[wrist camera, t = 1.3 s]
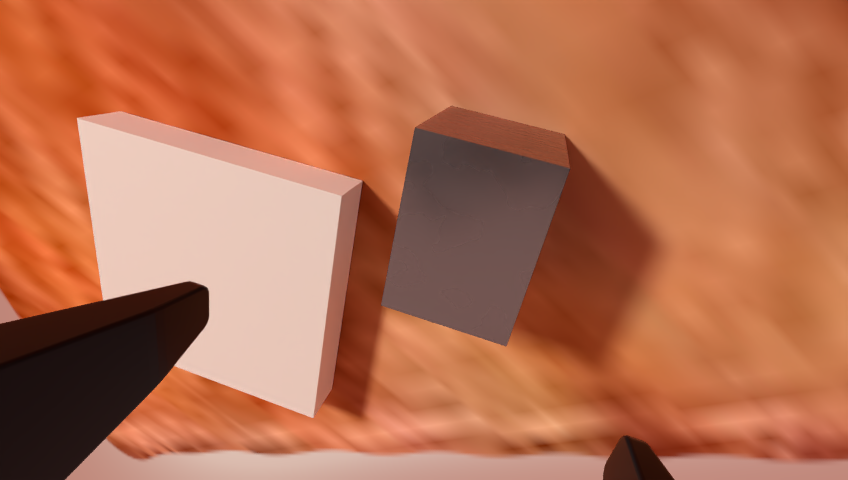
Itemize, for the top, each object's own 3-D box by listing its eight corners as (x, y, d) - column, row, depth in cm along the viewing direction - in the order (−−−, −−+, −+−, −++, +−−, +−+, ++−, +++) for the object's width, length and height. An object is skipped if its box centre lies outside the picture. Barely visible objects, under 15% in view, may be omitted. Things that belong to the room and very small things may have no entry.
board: (362, 180, 22) (341, 195, 20) (332, 388, 28) (313, 418, 26) (120, 111, 24) (76, 118, 22) (141, 319, 30) (109, 341, 28)
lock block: (564, 134, 19) (570, 168, 14) (517, 273, 22) (506, 346, 17) (451, 105, 20) (415, 127, 14) (420, 244, 23) (381, 305, 17)
